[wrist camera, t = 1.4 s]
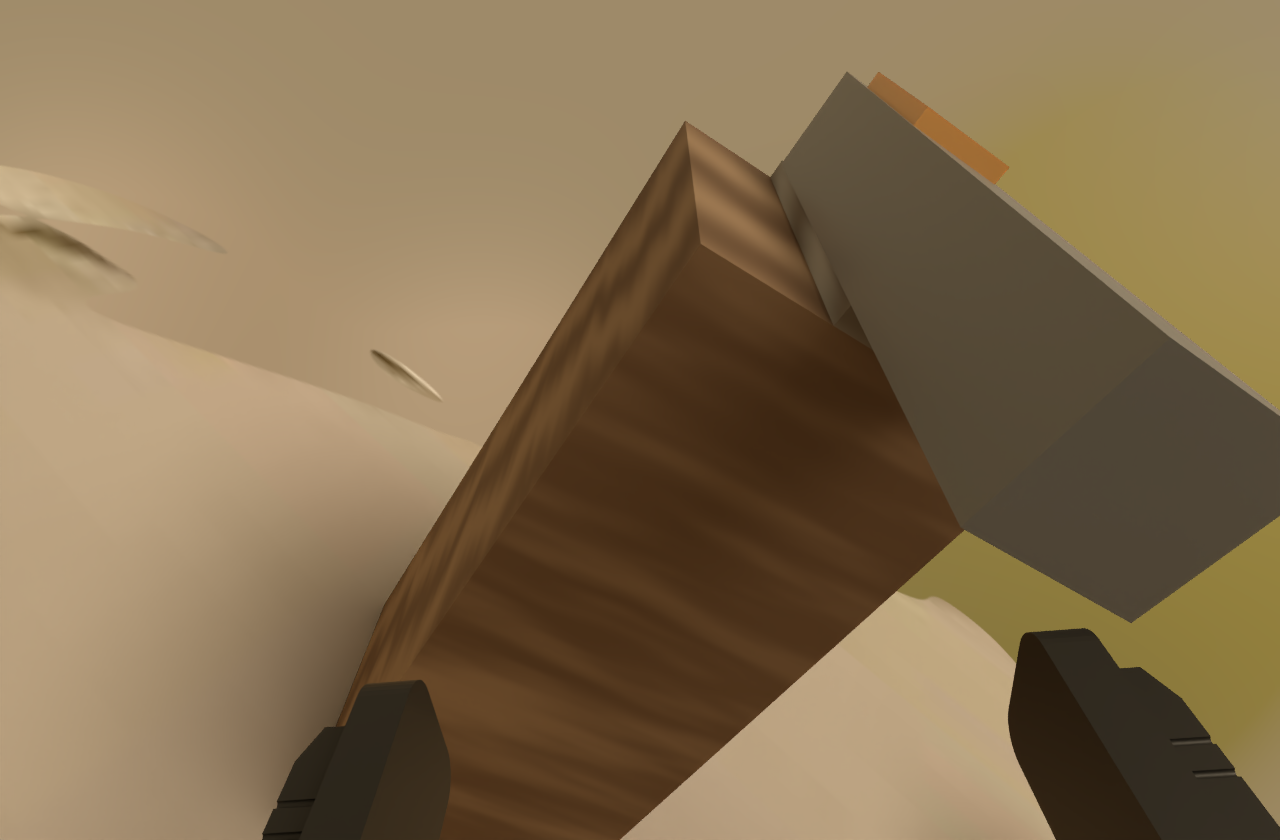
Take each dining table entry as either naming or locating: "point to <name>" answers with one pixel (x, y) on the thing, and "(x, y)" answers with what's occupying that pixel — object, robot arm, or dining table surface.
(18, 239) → the dining table surface
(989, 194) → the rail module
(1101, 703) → the robot arm
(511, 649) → the stand
